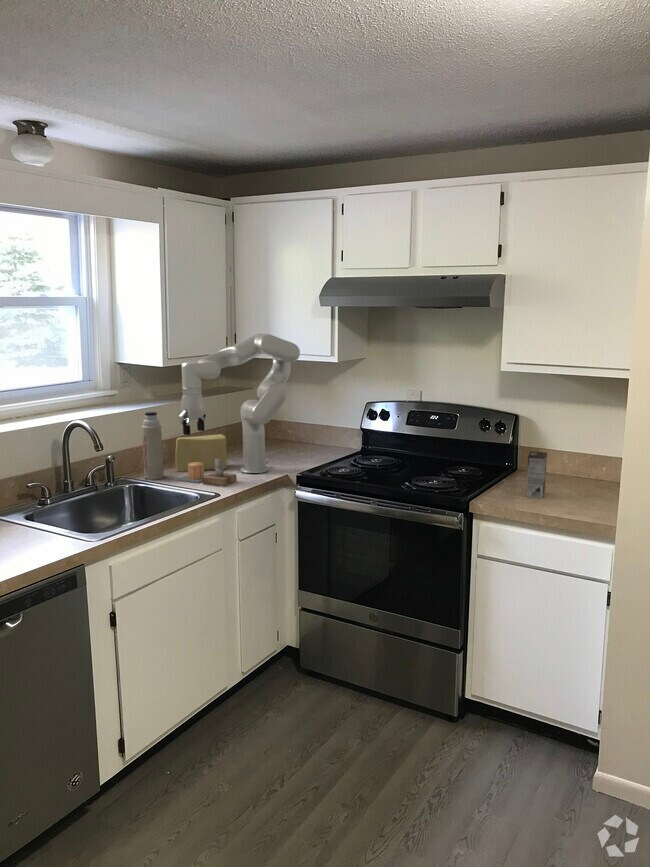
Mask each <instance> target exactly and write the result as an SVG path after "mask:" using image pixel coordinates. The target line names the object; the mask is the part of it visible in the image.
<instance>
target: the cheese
mask: <svg viewBox="0 0 650 867" xmlns="http://www.w3.org/2000/svg"><path fill="white" fill-rule="evenodd" d="M175 442H176V444H175V453H174V454H175V470H176V472H188V464H189V463H192V462H202V463H204V471H211V470H210V469H215V459H217V458H222V459H223V470H226V468H227V469H228V457H227V456H228V452H227V437H226V436H225V435H224V434H222V433H221V434H220V433H219V434H208V435H198V436H185V437H184V436H183V437H178V438H176V441H175Z"/></svg>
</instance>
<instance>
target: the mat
mask: <svg viewBox="0 0 650 867" xmlns="http://www.w3.org/2000/svg"><path fill="white" fill-rule="evenodd" d="M207 475H208V474H204V476H207ZM177 480H180V481H179V482H184V481H186V482H185V483H192V482H193V484H201V483H203V480H202V479H189V478H188V474H187V475H185V476H182V477H179V478H177V479H176V481H177Z"/></svg>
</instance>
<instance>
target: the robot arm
mask: <svg viewBox="0 0 650 867" xmlns="http://www.w3.org/2000/svg"><path fill="white" fill-rule="evenodd" d="M262 354H263V355H267V356H271V357H272V367H271V369H270V370H269V372H268V373H267V374H266V376H265V377H264V378H263V380H262V381H261V383H260V384H259V385H258V387H257V389H256V394H257V397H258V398H259V400H257V399H247V400H245V401H244V402H243V403H242V405H241V406H240V419H241V425H242V426H241V427H242V447H243V448H242V454H243V455H242V458H243V466H241V467H240V469H239V470H240V471H239V472H240V473H242V472H244V473H243V474H247V473H260V474H264V473H263V472H265V473H267V471H268V470H269V471H270V467H269V466H267V465H266V464H269V463H270V459H269V458H266V441H265V440H266V439H265V438H266V437H265V436H266V433H265V432H266V431H265V424H268V423H270V421H271V420H272V419H273V418H274V417H275V415H276V414H277V412H278V411H279V410H280V408H281V407H282V406H283V405H284V402H285V401H286V399H287V396H288V392H287V391H288V390H287V387H286V385H285V384H286V383H287V381H288V379H289V377H290V376H291V372H292V371H291V369H292V365H291V363H294V362H296V361H298V359H299V358H300V355H301V349H300V348H299V346H298V345H297V344H296V343H294V342H291V341H288V340H285V339H283V338H280V337H278V336H275V335H273V334H269V333H257V334H253V335H252V336H249V337H248V338H246V339H244V340H242V341H240V342H238V343H236V344H234V345H232V346H229V347H225V348H223V349H221V350H219V351H216V352H213V353H210V354H209V355H206V356H205V357H202V358H200V359H199V360H198V361H185V362H183V363H182V364H181V381H182V384H181V385H182V396H181V403H180V404H181V405H180V414H179V415H178V418H179V420H180V423H181V425H182V432H183V435H185V436H190V435H191V425H190V423H191V421H194V420H197V422H196V425H197V427H196V428H197V431H200V432H204V431H205V421H206V417H207V416H206V414H207V412H208V410H207V409H205V408H204V401H203V395H202V379H204V380H213V379H216V378H218V377H219V375H220V374H221V371H222V370H221V369H224V368H228V367H234V366H239V365H243V364H245V363H246V362H248V361H250V360H252V359H255V358H256V357H258V356H260V355H262ZM269 471H268V472H269Z"/></svg>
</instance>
